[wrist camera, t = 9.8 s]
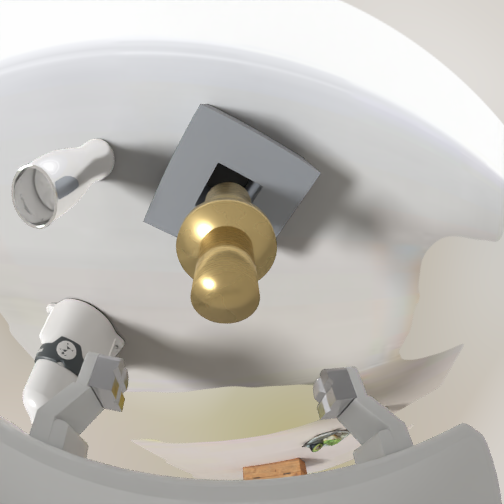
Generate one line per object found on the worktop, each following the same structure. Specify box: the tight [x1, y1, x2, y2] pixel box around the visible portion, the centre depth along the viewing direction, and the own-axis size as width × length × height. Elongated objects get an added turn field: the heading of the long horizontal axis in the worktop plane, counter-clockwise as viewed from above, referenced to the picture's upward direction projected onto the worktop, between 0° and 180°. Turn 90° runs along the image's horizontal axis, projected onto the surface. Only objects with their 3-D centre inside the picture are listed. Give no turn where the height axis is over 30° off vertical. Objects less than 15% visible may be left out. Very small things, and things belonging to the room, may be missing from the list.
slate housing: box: [143, 104, 321, 237], centre depth 31 cm, size 14×14×8 cm
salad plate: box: [302, 430, 350, 452], centre depth 86 cm, size 19×18×5 cm
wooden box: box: [243, 458, 307, 480], centre depth 103 cm, size 30×16×14 cm, turn 111°
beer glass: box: [11, 139, 115, 229], centre depth 25 cm, size 7×7×15 cm
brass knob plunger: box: [176, 182, 277, 323], centre depth 20 cm, size 7×7×14 cm
